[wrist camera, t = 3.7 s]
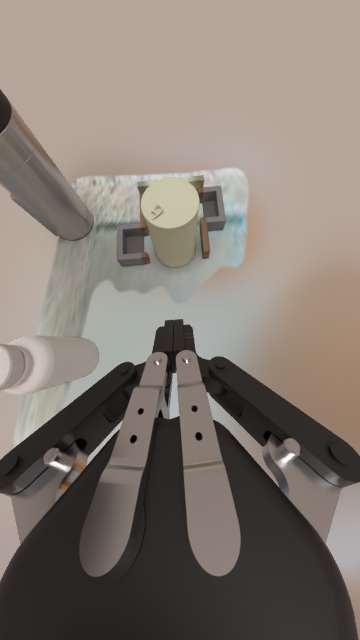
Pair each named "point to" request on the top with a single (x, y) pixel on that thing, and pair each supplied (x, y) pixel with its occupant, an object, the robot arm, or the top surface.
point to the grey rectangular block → (172, 219)
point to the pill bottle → (44, 362)
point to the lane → (198, 185)
